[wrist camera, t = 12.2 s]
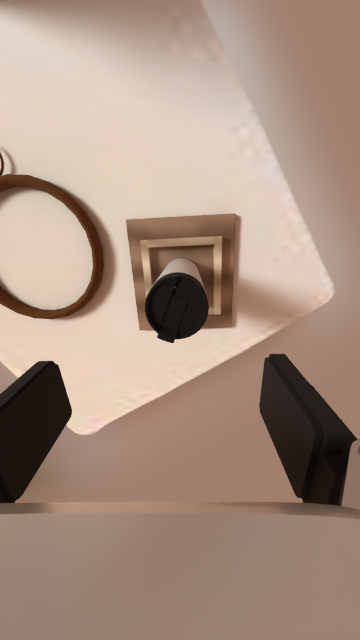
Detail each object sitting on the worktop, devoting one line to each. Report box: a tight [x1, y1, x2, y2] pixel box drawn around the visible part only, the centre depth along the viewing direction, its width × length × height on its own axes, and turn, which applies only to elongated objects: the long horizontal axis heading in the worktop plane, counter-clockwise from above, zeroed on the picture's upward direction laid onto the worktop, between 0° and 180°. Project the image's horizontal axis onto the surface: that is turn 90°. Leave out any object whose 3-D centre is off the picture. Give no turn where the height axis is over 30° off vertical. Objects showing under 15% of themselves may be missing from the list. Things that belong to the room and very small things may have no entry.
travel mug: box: [145, 258, 209, 343], centre depth 29 cm, size 6×7×20 cm
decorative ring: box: [0, 154, 104, 319], centre depth 37 cm, size 24×3×30 cm
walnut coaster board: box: [126, 214, 235, 330], centre depth 38 cm, size 20×18×2 cm
